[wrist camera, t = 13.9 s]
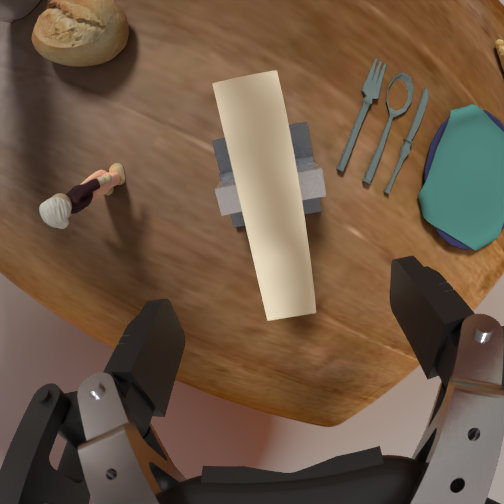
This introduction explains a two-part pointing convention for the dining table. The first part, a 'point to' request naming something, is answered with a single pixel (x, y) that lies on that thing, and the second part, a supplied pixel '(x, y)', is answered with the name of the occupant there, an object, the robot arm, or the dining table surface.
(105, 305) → the dining table surface
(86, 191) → the grandmother figurine
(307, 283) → the birch bar
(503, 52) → the croissant
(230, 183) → the ridge stand
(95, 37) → the bread roll
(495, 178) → the cutlery set
